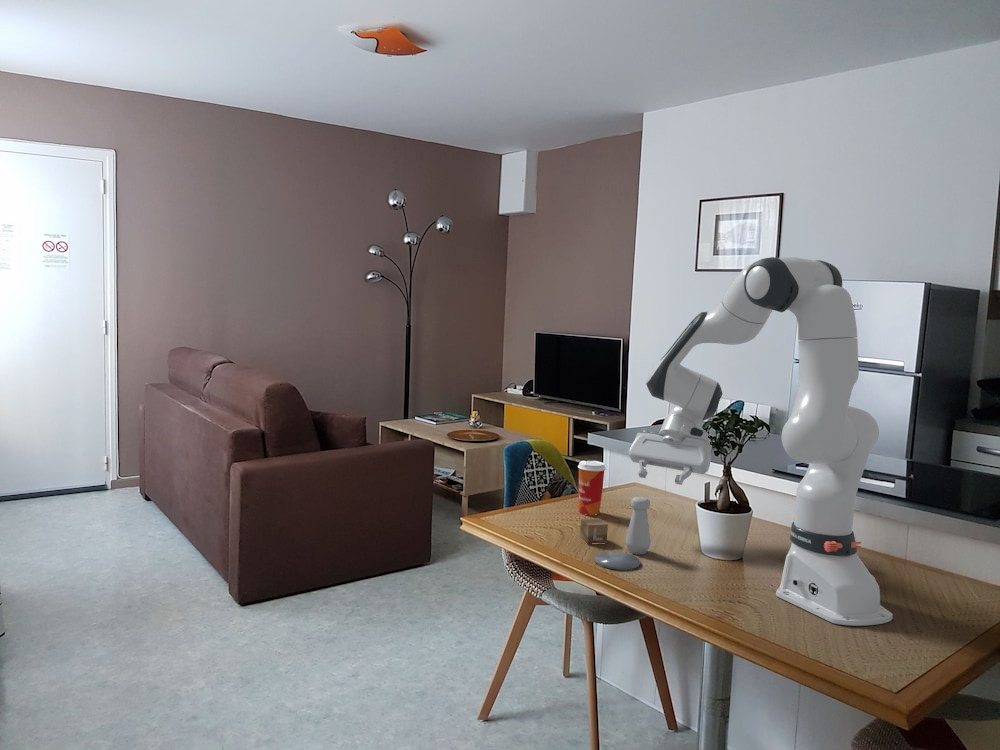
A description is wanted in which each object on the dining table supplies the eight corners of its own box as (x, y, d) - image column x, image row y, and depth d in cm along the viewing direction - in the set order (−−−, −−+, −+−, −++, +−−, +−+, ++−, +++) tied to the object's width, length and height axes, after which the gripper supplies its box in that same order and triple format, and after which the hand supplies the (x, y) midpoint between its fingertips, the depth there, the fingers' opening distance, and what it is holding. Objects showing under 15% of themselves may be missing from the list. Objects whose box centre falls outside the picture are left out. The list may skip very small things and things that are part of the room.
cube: (606, 544, 185) (608, 524, 184) (587, 545, 183) (588, 525, 183) (598, 537, 189) (599, 518, 189) (579, 538, 188) (580, 518, 188)
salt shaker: (648, 548, 182) (652, 495, 181) (651, 556, 177) (655, 502, 175) (624, 546, 183) (627, 493, 182) (625, 555, 177) (629, 500, 176)
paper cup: (571, 508, 214) (574, 459, 212) (598, 508, 215) (601, 459, 214) (579, 517, 206) (582, 466, 205) (606, 516, 208) (610, 466, 206)
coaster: (647, 569, 169) (647, 565, 168) (605, 571, 166) (605, 568, 166) (627, 553, 178) (627, 550, 178) (587, 556, 175) (588, 552, 175)
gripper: (636, 422, 198) (617, 465, 191) (713, 433, 186) (696, 479, 179) (642, 437, 202) (623, 479, 195) (718, 448, 191) (702, 494, 184)
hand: (659, 479), depth 187 cm, fingers open, 8 cm apart
